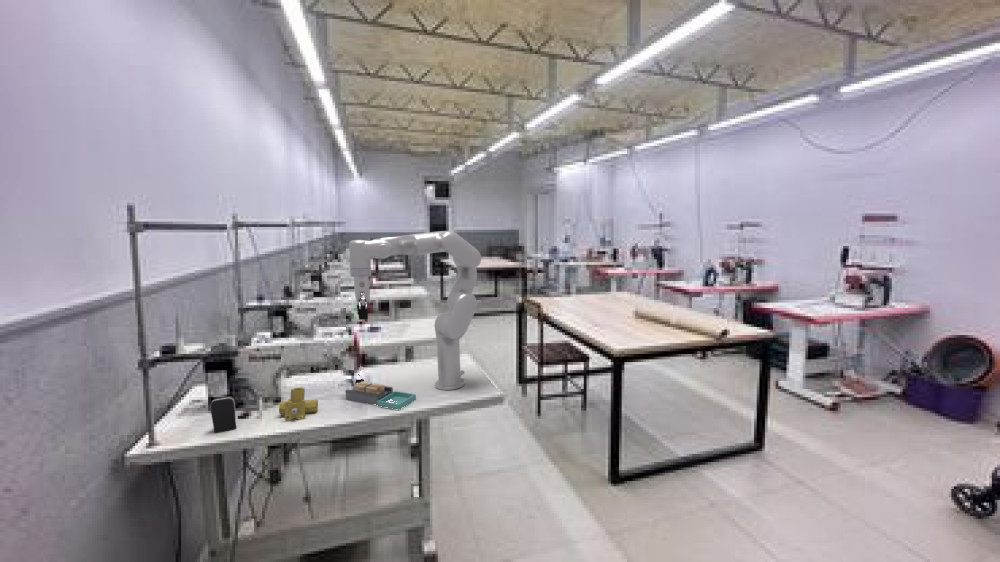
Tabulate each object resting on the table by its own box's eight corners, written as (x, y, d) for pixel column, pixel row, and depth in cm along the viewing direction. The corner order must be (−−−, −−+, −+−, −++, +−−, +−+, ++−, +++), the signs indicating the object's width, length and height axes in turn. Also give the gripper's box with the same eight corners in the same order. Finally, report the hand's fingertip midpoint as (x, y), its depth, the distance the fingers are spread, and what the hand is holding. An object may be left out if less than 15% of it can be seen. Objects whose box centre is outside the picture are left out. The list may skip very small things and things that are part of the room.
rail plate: (362, 391, 185) (361, 382, 184) (393, 396, 178) (392, 387, 178) (346, 399, 176) (345, 390, 176) (378, 405, 170) (377, 395, 169)
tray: (395, 396, 179) (395, 390, 178) (416, 399, 175) (415, 394, 174) (377, 406, 169) (377, 401, 168) (399, 410, 165) (398, 404, 164)
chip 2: (374, 389, 179) (374, 383, 178) (384, 390, 177) (384, 384, 176) (366, 393, 174) (365, 387, 174) (376, 395, 172) (375, 389, 172)
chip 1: (362, 387, 181) (362, 381, 181) (372, 388, 179) (372, 382, 179) (354, 391, 177) (353, 385, 176) (364, 393, 175) (363, 387, 174)
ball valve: (281, 415, 165) (275, 423, 155) (282, 387, 165) (276, 393, 155) (318, 413, 168) (314, 420, 159) (318, 386, 168) (314, 391, 159)
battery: (238, 424, 156) (234, 393, 154) (236, 429, 152) (233, 397, 151) (214, 429, 153) (211, 397, 151) (213, 433, 149) (209, 401, 148)
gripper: (372, 274, 161) (374, 320, 163) (369, 270, 177) (370, 312, 179) (351, 275, 158) (353, 322, 160) (349, 270, 174) (351, 313, 176)
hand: (362, 316), depth 169 cm, fingers open, 9 cm apart
